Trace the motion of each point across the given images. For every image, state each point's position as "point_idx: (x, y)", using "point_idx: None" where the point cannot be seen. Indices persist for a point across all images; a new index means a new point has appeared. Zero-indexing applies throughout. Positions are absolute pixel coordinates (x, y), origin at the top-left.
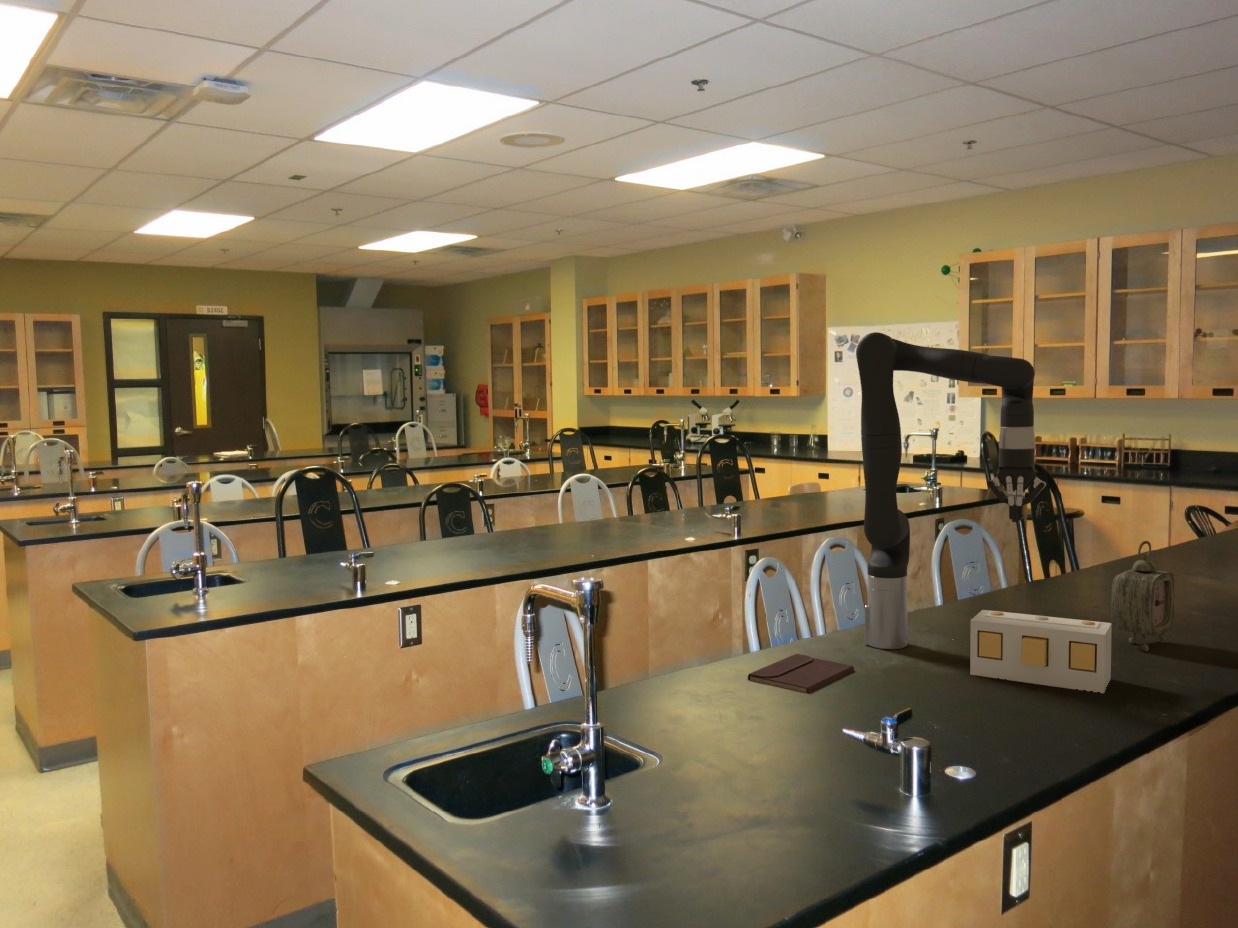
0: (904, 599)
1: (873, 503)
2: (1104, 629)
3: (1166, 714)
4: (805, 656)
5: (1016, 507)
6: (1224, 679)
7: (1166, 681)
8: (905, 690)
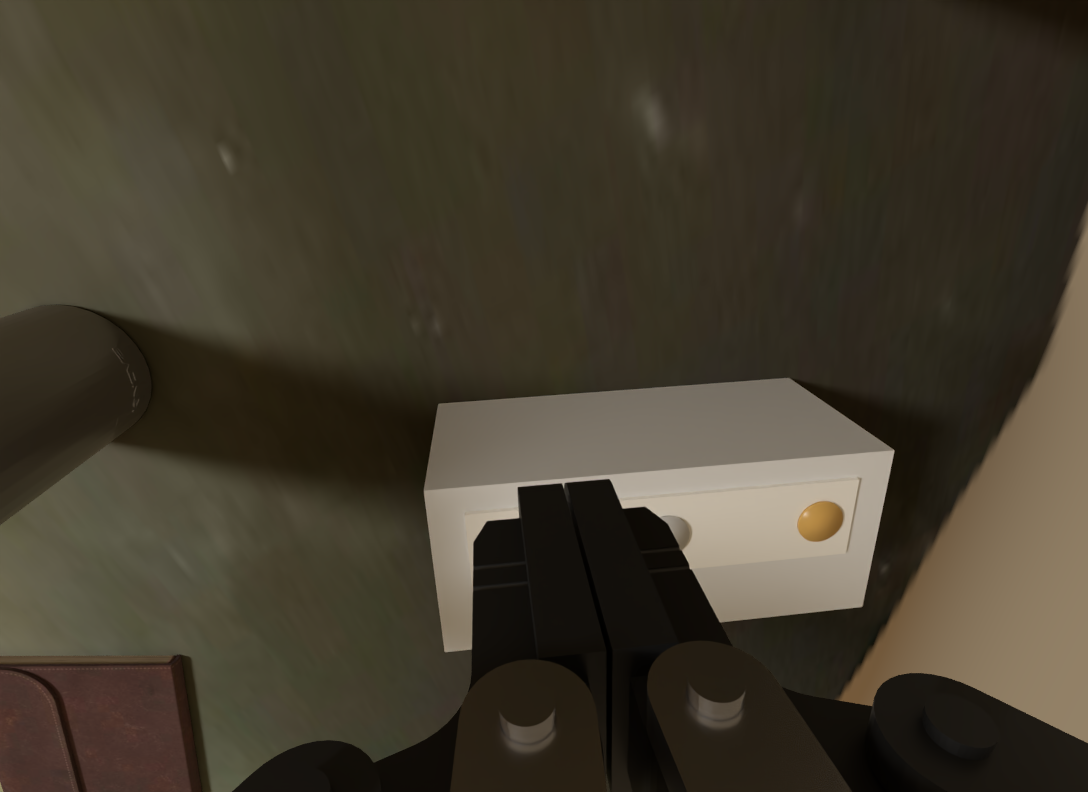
0: (26, 467)
1: None
2: (865, 546)
3: (888, 568)
4: (9, 678)
5: (625, 775)
6: (1079, 212)
7: (924, 320)
8: (370, 708)
